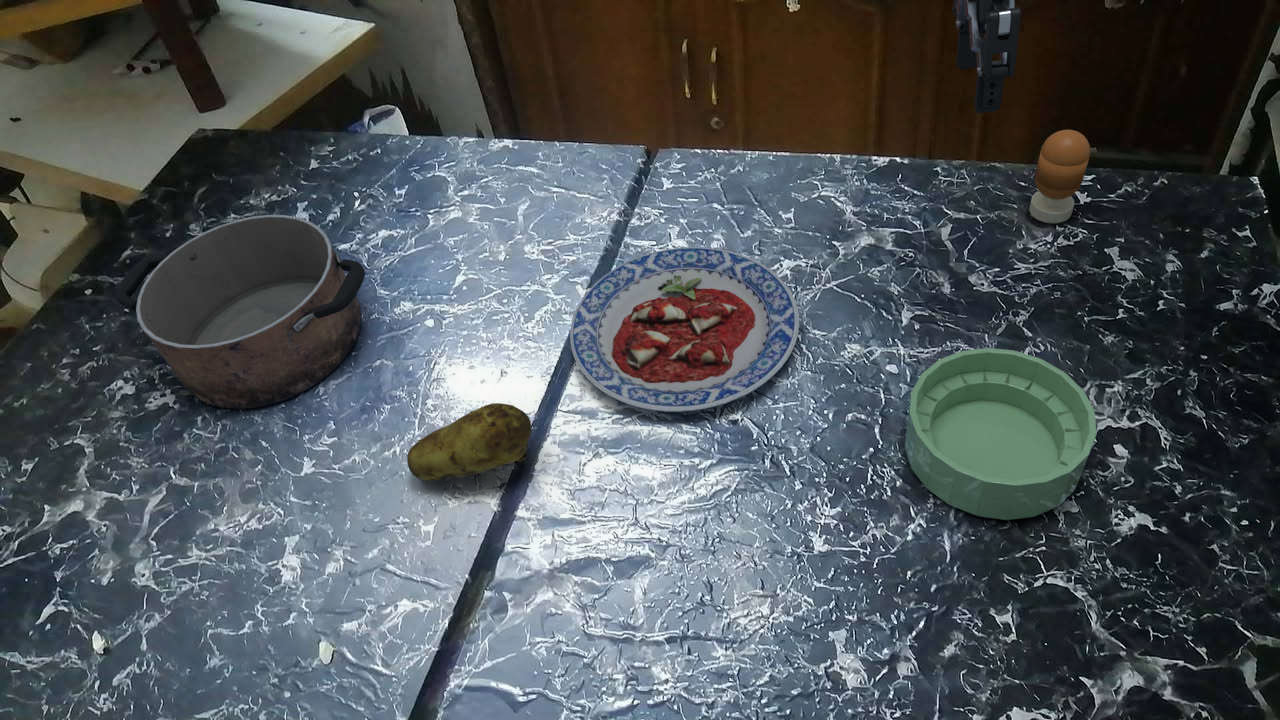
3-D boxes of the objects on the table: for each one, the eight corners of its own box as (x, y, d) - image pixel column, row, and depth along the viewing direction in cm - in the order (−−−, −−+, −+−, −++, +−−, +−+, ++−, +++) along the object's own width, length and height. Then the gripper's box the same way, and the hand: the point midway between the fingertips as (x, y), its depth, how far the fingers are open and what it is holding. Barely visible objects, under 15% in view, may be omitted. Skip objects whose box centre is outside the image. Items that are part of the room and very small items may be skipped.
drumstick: (1063, 195, 114) (1084, 117, 106) (1080, 221, 111) (1102, 143, 103) (1021, 200, 114) (1038, 124, 106) (1036, 227, 111) (1055, 150, 103)
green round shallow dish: (1044, 379, 95) (1057, 338, 91) (1109, 511, 84) (1126, 472, 80) (887, 398, 96) (891, 359, 92) (930, 532, 85) (937, 494, 81)
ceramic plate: (777, 439, 94) (776, 421, 92) (542, 405, 101) (536, 387, 99) (815, 270, 110) (815, 251, 108) (610, 251, 117) (607, 233, 115)
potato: (439, 426, 101) (417, 378, 95) (549, 442, 98) (534, 393, 92) (407, 488, 96) (382, 441, 90) (523, 508, 92) (504, 460, 86)
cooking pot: (416, 282, 118) (390, 216, 110) (351, 419, 103) (315, 353, 95) (208, 276, 124) (169, 213, 116) (118, 404, 109) (66, 341, 101)
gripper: (1065, -65, 72) (1037, 121, 83) (1020, -124, 82) (1000, 48, 93) (965, -51, 73) (950, 131, 84) (932, -111, 83) (923, 58, 94)
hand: (977, 87), depth 88 cm, fingers open, 8 cm apart
